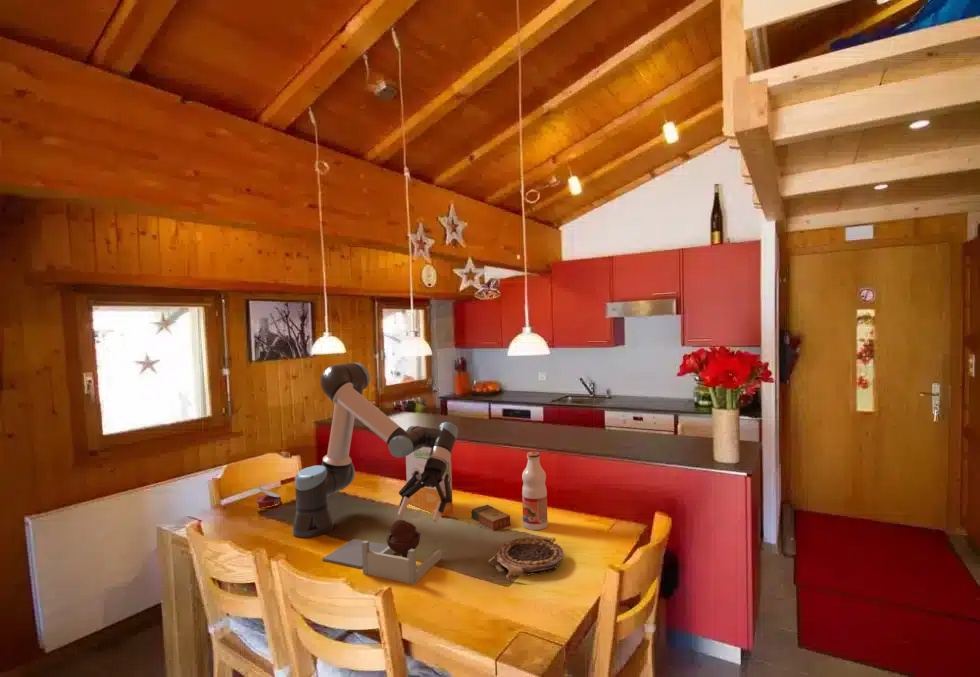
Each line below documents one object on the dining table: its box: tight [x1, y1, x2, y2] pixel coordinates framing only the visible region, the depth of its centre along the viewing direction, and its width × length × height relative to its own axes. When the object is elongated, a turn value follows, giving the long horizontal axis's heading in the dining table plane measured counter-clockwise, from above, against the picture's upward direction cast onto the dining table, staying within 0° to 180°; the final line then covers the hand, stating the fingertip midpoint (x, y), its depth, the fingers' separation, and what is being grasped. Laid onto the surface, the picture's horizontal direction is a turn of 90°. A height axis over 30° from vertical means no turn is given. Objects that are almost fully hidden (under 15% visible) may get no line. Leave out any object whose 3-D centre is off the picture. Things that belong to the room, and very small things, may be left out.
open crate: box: [362, 540, 443, 586], centre depth 159 cm, size 19×17×10 cm
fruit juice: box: [521, 451, 549, 531], centre depth 188 cm, size 9×9×28 cm
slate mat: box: [322, 538, 388, 570], centre depth 169 cm, size 16×16×1 cm
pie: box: [487, 536, 565, 585], centre depth 159 cm, size 28×27×5 cm
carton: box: [470, 504, 511, 531], centre depth 193 cm, size 8×16×4 cm, turn 34°
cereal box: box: [405, 447, 454, 518], centre depth 209 cm, size 22×6×30 cm, turn 47°
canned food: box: [256, 486, 282, 507], centre depth 221 cm, size 11×10×10 cm
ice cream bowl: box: [386, 519, 421, 558], centre depth 160 cm, size 11×11×15 cm
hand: (417, 518), depth 165 cm, fingers open, 13 cm apart
